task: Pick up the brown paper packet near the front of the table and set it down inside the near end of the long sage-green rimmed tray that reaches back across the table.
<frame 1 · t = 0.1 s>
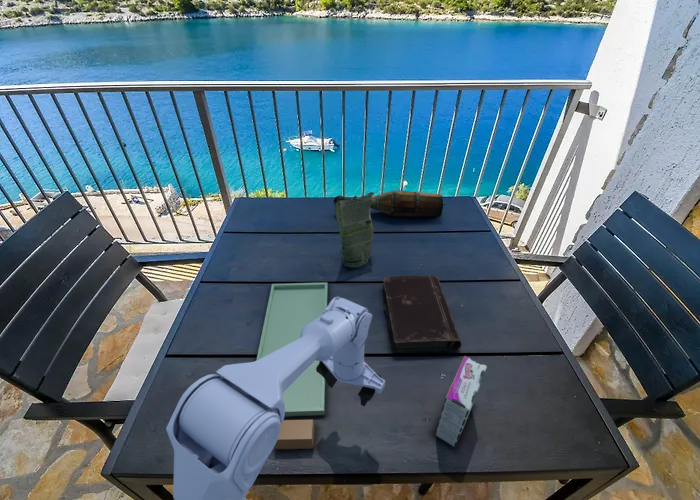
hand: (348, 392, 71), 12 cm above the table, tool pointing down, fingers open, 7 cm apart
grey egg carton: (452, 420, 79), on the table
tray: (294, 341, 96), on the table
decorative bottle: (386, 214, 146), on the table
diary: (415, 317, 102), on the table
pouch: (355, 258, 124), on the table
packet: (295, 439, 76), on the table
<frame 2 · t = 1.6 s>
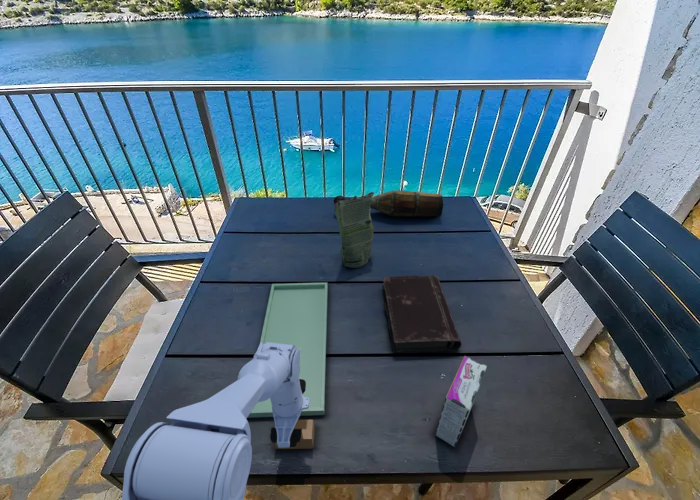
hand: (293, 425, 72), 6 cm above the table, tool pointing down, fingers open, 7 cm apart
nothing on the table moved.
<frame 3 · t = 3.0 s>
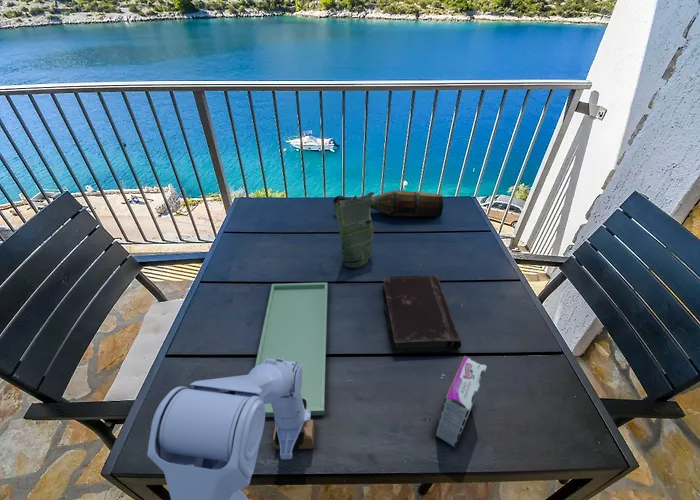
hand: (294, 436, 75), 1 cm above the table, tool pointing down, fingers closed on packet, 4 cm apart
packet: (295, 439, 76), on the table, touching gripper
everything else where it was.
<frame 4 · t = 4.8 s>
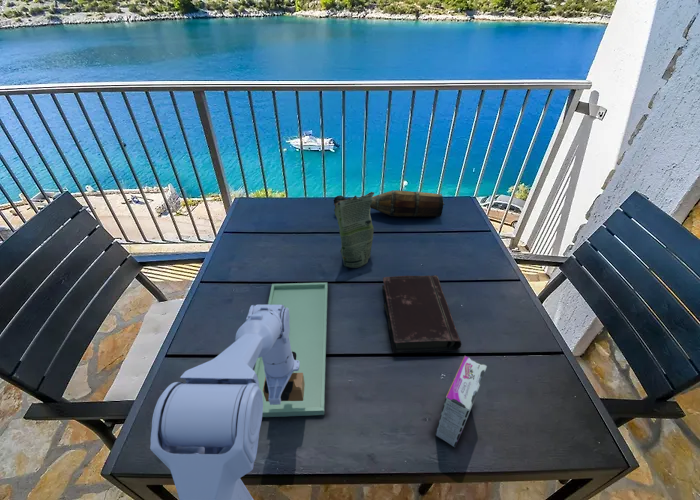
hand: (284, 389, 76), 8 cm above the table, tool pointing down, fingers closed on packet, 4 cm apart
packet: (285, 392, 77), point 7 cm above the table, touching gripper
everything else where it was.
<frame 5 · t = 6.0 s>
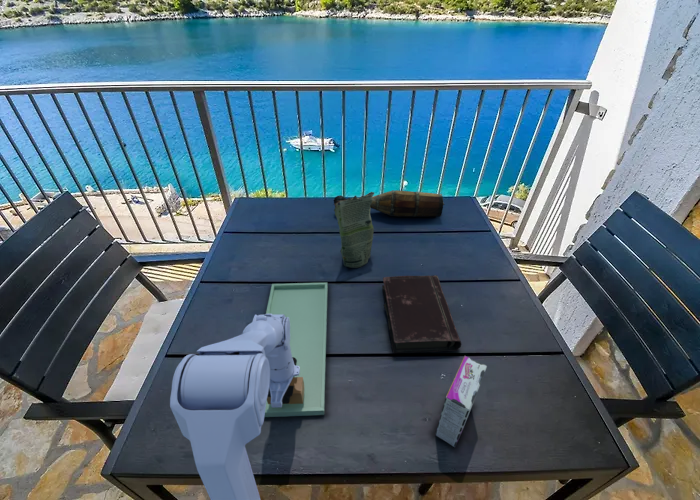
hand: (285, 392, 80), 4 cm above the table, tool pointing down, fingers closed on packet, 4 cm apart
packet: (286, 395, 81), point 2 cm above the table, touching gripper
everything else where it was.
when the fingers open (2 cm above the table, at t = 6.9 s): packet stays where it is, resting on tray.
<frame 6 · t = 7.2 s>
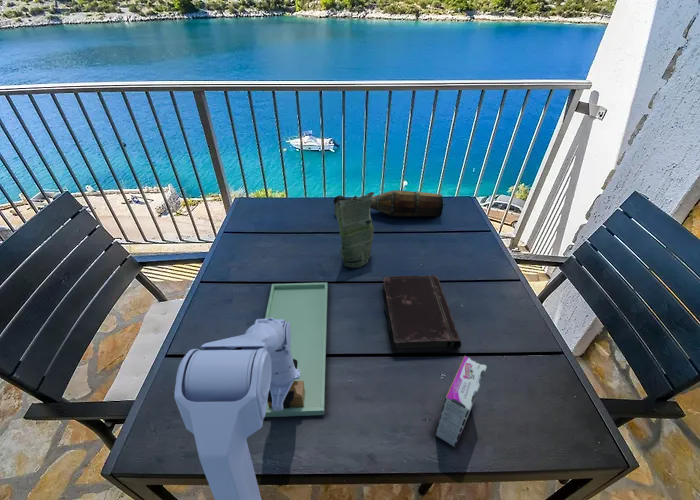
hand: (286, 395, 81), 2 cm above the table, tool pointing down, fingers open, 5 cm apart
packet: (287, 399, 82), point 1 cm above the table, touching tray
everything else where it was.
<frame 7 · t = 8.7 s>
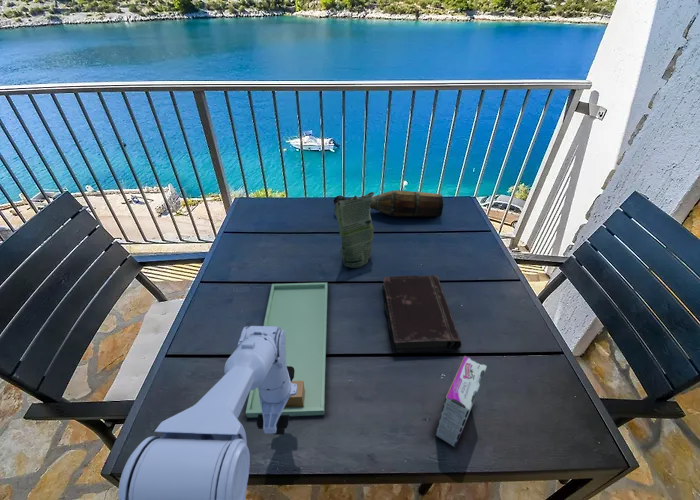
hand: (281, 413, 71), 9 cm above the table, tool pointing down, fingers open, 7 cm apart
nothing on the table moved.
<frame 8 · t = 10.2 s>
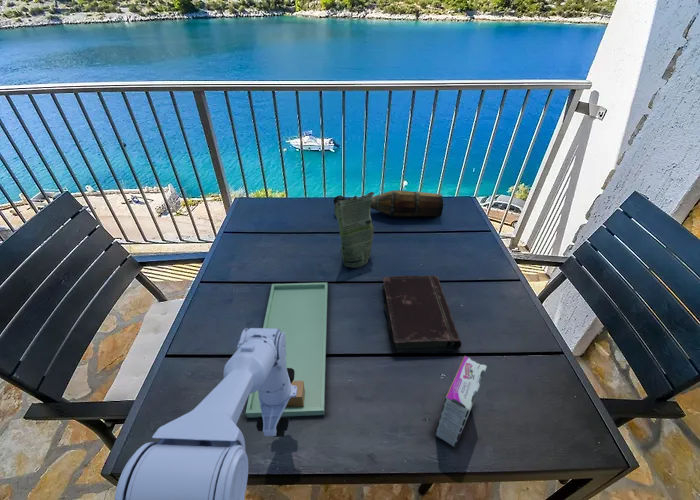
hand: (281, 415, 70), 9 cm above the table, tool pointing down, fingers open, 7 cm apart
nothing on the table moved.
at the end: packet inside the target area in the tray (0.1 cm from its centre), point 0.6 cm above the tray's base; the gripper is holding nothing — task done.
